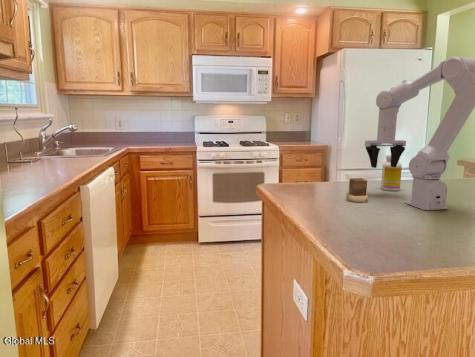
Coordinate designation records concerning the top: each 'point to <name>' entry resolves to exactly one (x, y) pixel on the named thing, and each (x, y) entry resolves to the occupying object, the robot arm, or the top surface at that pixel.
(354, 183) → the walnut block
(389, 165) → the supplement bottle
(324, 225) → the top surface
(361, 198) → the maple plinth
